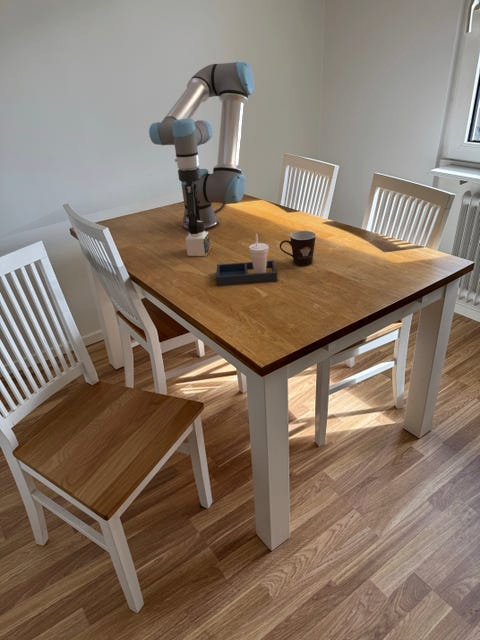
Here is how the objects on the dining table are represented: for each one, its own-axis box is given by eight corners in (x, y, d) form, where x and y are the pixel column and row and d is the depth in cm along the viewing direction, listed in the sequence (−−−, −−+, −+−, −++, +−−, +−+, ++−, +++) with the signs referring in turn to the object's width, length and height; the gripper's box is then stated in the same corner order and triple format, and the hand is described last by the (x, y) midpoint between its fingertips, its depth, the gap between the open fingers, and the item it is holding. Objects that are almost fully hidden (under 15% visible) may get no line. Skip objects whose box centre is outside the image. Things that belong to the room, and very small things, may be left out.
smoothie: (249, 270, 154) (247, 231, 146) (268, 268, 154) (266, 229, 147) (251, 278, 148) (249, 238, 141) (271, 276, 148) (269, 236, 141)
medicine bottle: (205, 256, 169) (202, 225, 163) (187, 256, 170) (183, 225, 164) (210, 249, 175) (207, 218, 169) (192, 249, 176) (188, 219, 170)
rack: (217, 272, 156) (217, 264, 154) (274, 268, 156) (273, 260, 154) (217, 285, 147) (216, 277, 146) (276, 281, 147) (276, 272, 145)
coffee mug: (317, 258, 160) (318, 231, 155) (312, 268, 153) (313, 240, 148) (285, 256, 164) (284, 229, 159) (279, 266, 157) (278, 238, 152)
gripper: (180, 161, 167) (188, 217, 178) (173, 177, 146) (182, 240, 156) (201, 160, 167) (207, 216, 178) (197, 175, 146) (204, 238, 156)
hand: (195, 227), depth 167 cm, fingers open, 13 cm apart
